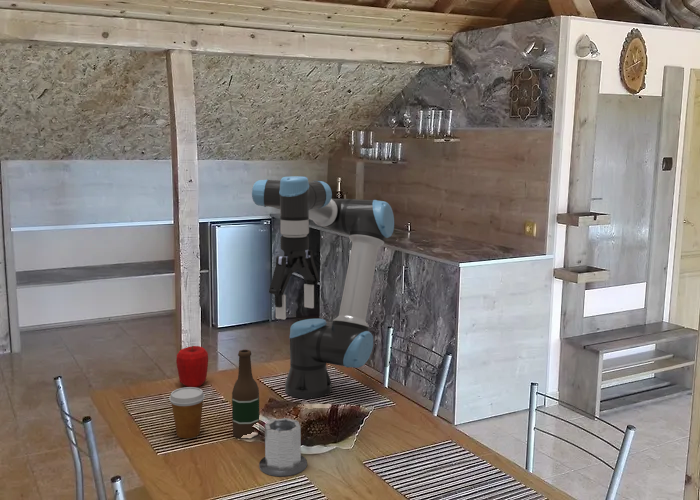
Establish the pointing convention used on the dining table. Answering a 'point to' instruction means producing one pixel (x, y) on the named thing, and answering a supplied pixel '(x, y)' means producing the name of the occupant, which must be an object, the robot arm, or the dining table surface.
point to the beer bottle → (245, 398)
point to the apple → (192, 366)
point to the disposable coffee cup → (187, 411)
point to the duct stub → (283, 473)
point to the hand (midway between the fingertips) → (295, 313)
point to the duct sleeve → (282, 444)
